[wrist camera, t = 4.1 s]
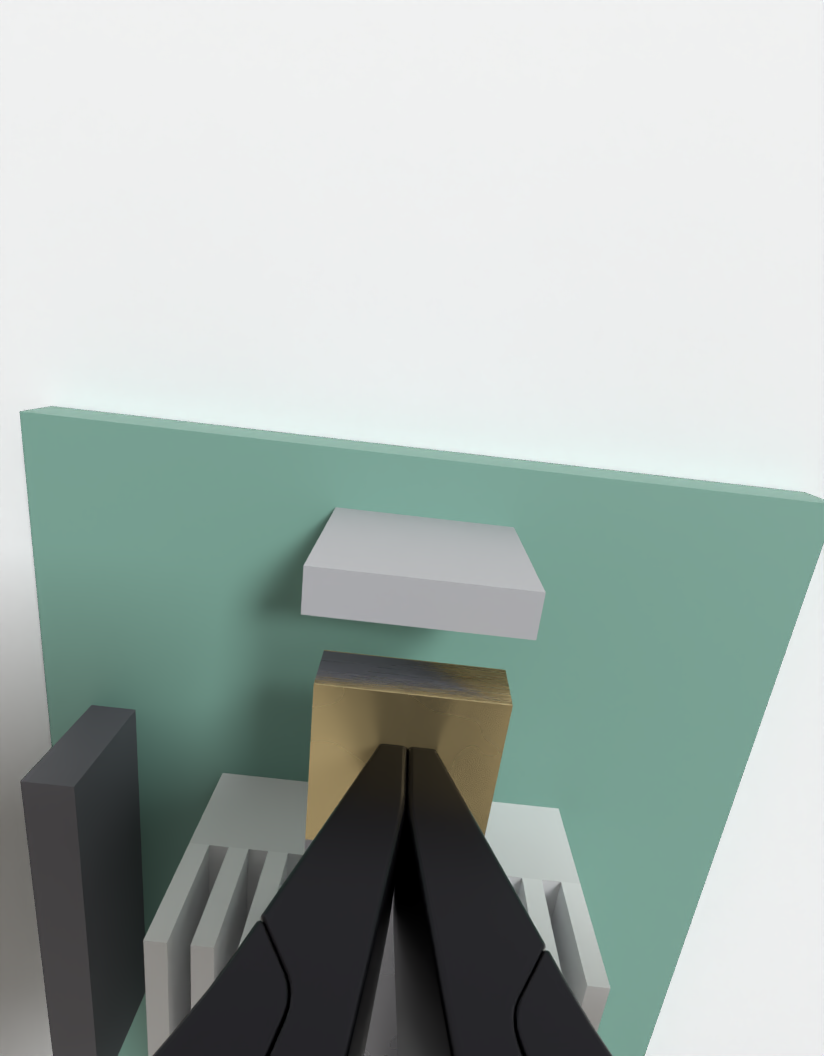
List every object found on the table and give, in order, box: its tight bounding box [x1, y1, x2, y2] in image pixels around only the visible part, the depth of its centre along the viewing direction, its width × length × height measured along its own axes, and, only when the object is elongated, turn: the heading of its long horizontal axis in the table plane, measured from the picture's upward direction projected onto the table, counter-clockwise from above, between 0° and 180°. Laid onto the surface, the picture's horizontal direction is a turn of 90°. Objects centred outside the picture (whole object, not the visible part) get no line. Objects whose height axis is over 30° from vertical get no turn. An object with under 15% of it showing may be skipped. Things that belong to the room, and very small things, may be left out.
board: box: [20, 406, 824, 1056], centre depth 13 cm, size 22×16×5 cm
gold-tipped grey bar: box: [305, 650, 513, 1056], centre depth 12 cm, size 17×3×1 cm, turn 174°
